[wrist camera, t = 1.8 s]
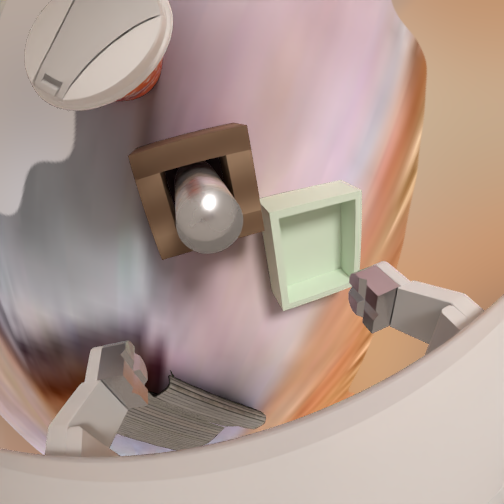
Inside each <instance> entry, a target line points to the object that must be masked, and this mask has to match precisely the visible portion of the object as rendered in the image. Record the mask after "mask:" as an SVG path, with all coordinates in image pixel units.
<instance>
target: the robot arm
mask: <svg viewBox="0 0 504 504" xmlns="http://www.w3.org/2000/svg"><path fill="white" fill-rule="evenodd" d="M349 283H350V284H351V285H352V288H351V289H350V291H349V303H350V306H351V308H352V310H353V312H354V313H355V314H356V315H358V316H361V317H363V324H364V325H365V326H366V327H367V328H368V330H369V331H370V332H371V333H374V332H377V331H379V330H381V329H383V328H385V327H388V326H390V327H392V328H395V329H397V330H399V331H401V332H404V333H406V334H408V335H410V336H412V337H414V338H417V339H419V340H421V341H423V342H425V343H428V344H429V346H428V348H427V351H426V353H425V356H423V357H422V358H420V359H418V360H417V361H415V362H414V363H412V364H410V365H409V366H407V367H406V368H404V369H402V370H400V371H399V372H397V373H395V374H393V375H392V376H390V377H388V378H386V379H385V380H383V381H381V382H379V383H377V384H375V385H373V386H371V387H369V388H367V389H365V390H363V391H361V392H359V393H357V394H355V395H353V396H351V397H349V398H347V399H344V400H342V401H340V402H338V403H335V404H333V405H331V406H329V407H326V408H324V409H321V410H319V411H317V412H314V413H312V414H309V415H306V416H304V417H301V418H298V419H296V420H293V421H290V422H287V423H284V424H282V425H279V426H276V427H273V428H269V429H266V430H263V431H260V432H256V433H253V434H249V435H246V436H242V437H238V438H235V439H231V440H227V441H222V442H218V443H214V444H209V445H204V446H199V447H194V448H188V449H183V450H176V451H170V452H162V453H154V454H145V455H134V456H120V455H118V454H117V453H115V452H114V451H112V450H111V449H109V448H110V446H111V444H112V442H113V440H114V438H115V435H116V433H117V431H118V429H119V427H120V425H121V423H122V421H123V419H124V417H125V415H126V413H127V411H128V409H130V408H135V407H141V406H146V405H148V390H147V388H146V387H145V386H144V385H145V383H146V382H147V380H148V378H147V370H146V366H145V364H144V361H143V360H142V358H141V357H140V356H139V355H137V354H135V347H134V346H133V345H132V343H131V342H130V341H124V342H119V343H114V344H109V345H104V346H100V347H94V348H92V349H91V351H90V356H89V361H88V366H87V371H86V377H85V382H84V383H81V384H80V385H79V387H78V388H77V389H76V390H75V392H74V393H73V394H72V396H71V397H70V398H69V399H68V401H67V402H66V403H65V405H64V406H63V407H62V409H61V410H60V411H59V413H58V414H57V415H56V417H55V418H54V419H53V421H52V422H51V423H50V425H49V426H48V433H47V441H46V449H45V455H40V454H32V453H24V452H18V451H12V450H7V449H1V448H0V504H504V294H503V295H502V296H501V297H500V298H499V299H498V300H497V301H496V302H495V303H493V304H492V305H491V306H490V307H489V308H488V309H487V310H485V311H484V310H483V309H482V308H481V307H480V306H478V305H477V304H476V303H475V302H474V301H473V300H471V299H470V298H469V297H468V296H467V295H466V294H464V293H460V292H456V291H452V290H448V289H444V288H441V287H437V286H433V285H429V284H425V283H421V282H417V281H412V282H411V281H409V280H408V279H407V278H406V277H405V276H403V275H402V274H401V273H400V272H399V271H397V270H396V269H395V268H394V267H392V266H391V265H390V264H389V263H387V262H385V261H382V262H379V263H377V264H374V265H373V266H370V267H367V268H365V269H362V270H360V271H357V272H354V273H352V274H351V275H350V277H349Z"/></svg>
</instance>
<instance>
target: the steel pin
mask: <svg viewBox="0 0 504 504" xmlns="http://www.w3.org/2000/svg"><path fill="white" fill-rule="evenodd" d="M175 212H176V229H177V233H178V236H179V238H180V239H181V241H182V242H183V243H184V244H185V245H186V246H187V247H188V248H190V249H191V250H193V251H196V252H199V253H205V254H210V253H216V252H220V251H222V250H224V249H226V248H228V247H229V246H231V245H232V244H233V243H234V242H235V241H236V239H237V238H238V236H239V235H240V233H241V230H242V227H243V214H242V210H241V208H240V206H239V204H238V203H237V202H236V200H235V199H234V197H233V196H232V194H231V193H230V192H229V190H228V189H227V187H226V186H225V184H224V183H223V182H222V180H221V179H220V177H219V176H218V175H217V173H216V172H215V170H214V169H213V168H212V166H211V165H210V164H208V163H207V162H205V161H200V162H196V163H192V164H189V165H185V166H181V167H180V168H179V169H178V170H177V172H176V175H175Z"/></svg>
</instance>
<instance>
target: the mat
mask: <svg viewBox="0 0 504 504" xmlns="http://www.w3.org/2000/svg"><path fill="white" fill-rule="evenodd" d="M170 371H171V370H170ZM171 374H172V372H171ZM168 377H169V385H168V387H167V388H166V389H165V390H163V391H162V392H161V393H159V394H155V393H153V392H150V391H148V405H146V406H141V407H135V408H130V409H128V411H127V413H126V415H125V417H124V419H123V421H122V423H121V425H120V427H119V429H118V431H117V434H120V435H123V436H126V437H129V438H132V439H136V440H139V441H143V442H146V443H150V444H153V445H156V446H160V447H165V448H169V449H173V450H183V449H188V448H194V447H199V446H203V445H205V444H207V443H209V442H210V441H211V440H212V439H214V438H215V437H216V436H217V435H218V434H219V433H220V432H221V431H222V430H223V429H224V427H221V426H218V425H215V424H219V425H224V426H240V427H244V428H250V429H256V428H258V427H260V426H261V425H263V424H264V423H265V420H266V415H265V414H263V413H262V412H261V411H258V410H255V409H253V408H251V407H247V406H245V405H242V404H239V403H236V402H233V401H230V400H227V399H225V398H222V397H219V396H216V395H214V394H211V393H209V392H207V391H205V390H202V389H200V388H198V387H195V386H193V385H190V384H188V383H186V382H183V381H181V380H180V379H177V378H175V377H174V375H173V374H172V376H171V375H169V376H168ZM207 421H208V422H207ZM210 422H211V423H210ZM212 423H215V424H212Z"/></svg>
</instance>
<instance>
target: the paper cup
mask: <svg viewBox="0 0 504 504" xmlns="http://www.w3.org/2000/svg"><path fill="white" fill-rule="evenodd" d="M172 29H173V15H172V10H171V6H170V4H169V2H168V0H51V1H50V2H49V3H48V4H47V5H46V7H45V8H44V9H43V10H42V11H41V13H40V14H39V16H38V17H37V19H36V20H35V22H34V24H33V26H32V28H31V30H30V32H29V35H28V38H27V41H26V46H25V55H24V62H25V69H26V72H27V75H28V78H29V79H30V82H31V84H32V86H33V88H34V90H35V91H36V93H37V94H38V95H39V96H40V97H41V98H42V99H43V100H44V101H46V102H47V103H49V104H50V105H53V106H55V107H57V108H61V109H65V110H73V111H81V110H90V109H94V108H98V107H102V106H105V105H107V104H110V103H112V102H116V101H127V100H133V99H136V98H139V97H141V96H143V95H145V94H146V93H147V92H149V91H150V90H151V89H152V88H153V87H154V85H155V84H156V82H157V81H158V79H159V76H160V73H161V69H162V61H163V55H164V53H165V52H166V50H167V47H168V44H169V42H170V39H171V34H172Z"/></svg>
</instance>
